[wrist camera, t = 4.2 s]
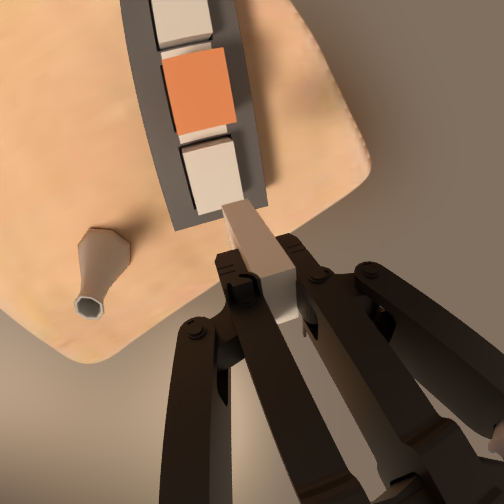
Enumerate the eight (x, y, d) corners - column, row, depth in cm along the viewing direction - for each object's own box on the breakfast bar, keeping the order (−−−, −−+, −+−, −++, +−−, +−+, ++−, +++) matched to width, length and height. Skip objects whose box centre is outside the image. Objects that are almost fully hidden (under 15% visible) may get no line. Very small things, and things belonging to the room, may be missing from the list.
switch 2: (163, 66, 18) (161, 59, 15) (215, 54, 19) (223, 47, 16) (177, 130, 22) (178, 136, 18) (226, 118, 22) (236, 122, 19)
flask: (72, 266, 30) (52, 321, 22) (85, 218, 28) (59, 267, 20) (122, 284, 34) (115, 341, 26) (139, 239, 31) (133, 292, 23)
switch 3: (181, 145, 25) (182, 153, 22) (224, 134, 26) (233, 141, 22) (194, 199, 29) (198, 215, 25) (235, 189, 29) (244, 202, 26)
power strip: (120, -37, 13) (114, -53, 10) (212, -55, 14) (219, -72, 11) (174, 215, 31) (175, 231, 28) (257, 193, 32) (268, 206, 29)
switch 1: (151, 1, 16) (149, -13, 13) (197, -9, 17) (202, -23, 13) (160, 51, 19) (158, 43, 16) (207, 41, 20) (212, 32, 17)
